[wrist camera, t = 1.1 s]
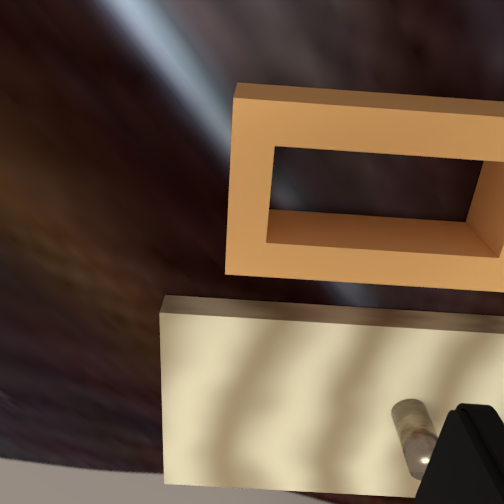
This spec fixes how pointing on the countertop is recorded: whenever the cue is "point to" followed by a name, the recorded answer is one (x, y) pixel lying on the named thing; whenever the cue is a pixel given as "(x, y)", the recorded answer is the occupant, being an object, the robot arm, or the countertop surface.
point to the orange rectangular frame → (360, 226)
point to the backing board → (312, 390)
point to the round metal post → (414, 434)
